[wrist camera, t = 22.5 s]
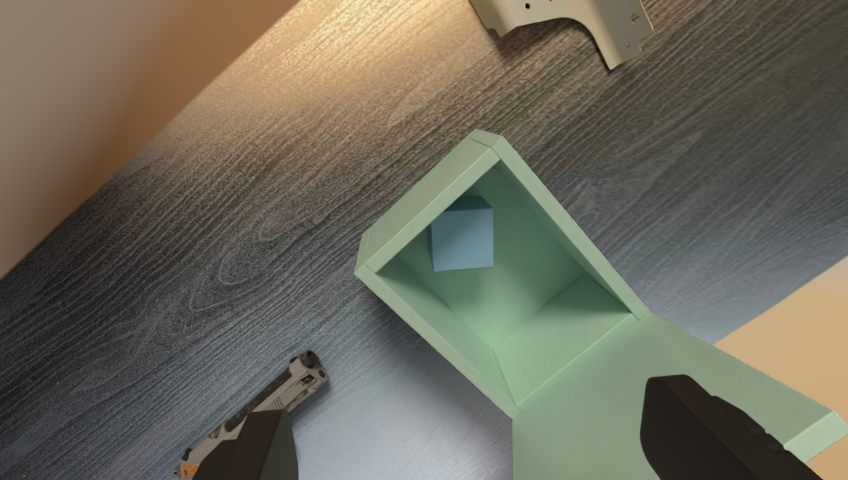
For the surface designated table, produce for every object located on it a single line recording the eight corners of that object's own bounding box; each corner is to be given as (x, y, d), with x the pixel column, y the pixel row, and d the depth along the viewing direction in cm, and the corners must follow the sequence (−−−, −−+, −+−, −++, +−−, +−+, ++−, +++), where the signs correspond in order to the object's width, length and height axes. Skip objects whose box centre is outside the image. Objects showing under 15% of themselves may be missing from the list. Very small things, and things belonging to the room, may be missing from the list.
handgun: (263, 521, 46) (168, 461, 42) (393, 413, 44) (305, 339, 40) (256, 548, 43) (153, 486, 40) (395, 434, 41) (300, 357, 37)
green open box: (361, 234, 37) (353, 273, 29) (475, 128, 35) (503, 136, 27) (488, 356, 42) (513, 421, 33) (595, 268, 40) (651, 313, 31)
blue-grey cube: (425, 199, 36) (430, 212, 31) (480, 195, 36) (493, 208, 32) (428, 251, 37) (433, 271, 33) (481, 248, 37) (493, 267, 33)
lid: (513, 632, 15) (621, 769, 15) (834, 410, 13) (975, 556, 13) (511, 421, 33) (561, 479, 32) (650, 311, 31) (706, 371, 30)
